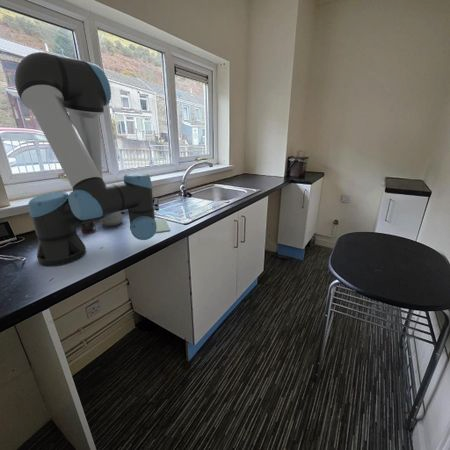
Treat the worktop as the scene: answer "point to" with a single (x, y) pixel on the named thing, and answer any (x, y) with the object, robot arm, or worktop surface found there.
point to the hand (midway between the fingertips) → (137, 197)
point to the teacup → (113, 219)
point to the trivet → (162, 225)
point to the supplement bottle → (88, 227)
